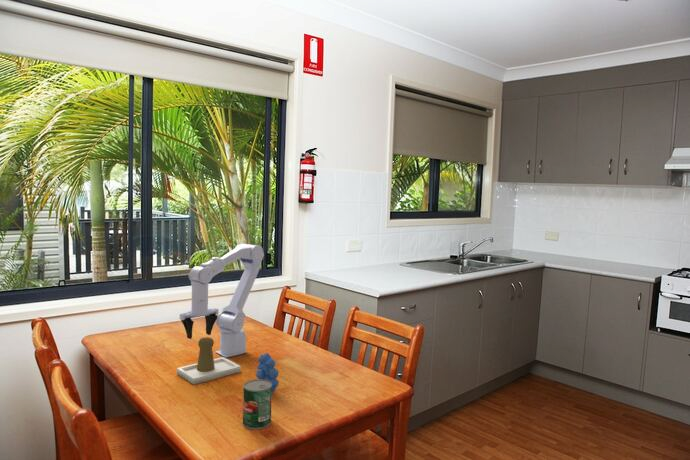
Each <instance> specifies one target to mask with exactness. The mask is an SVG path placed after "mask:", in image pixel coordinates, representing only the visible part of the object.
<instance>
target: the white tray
mask: <svg viewBox="0 0 690 460" xmlns="http://www.w3.org/2000/svg"><path fill="white" fill-rule="evenodd" d="M213 359H214V367H215V368H214V370H212V371H209V372H200V371H198V370H197V365H198V362H197V363H193V364H189V365H185V366H181V367H177V368H176V375H178V376H180V377H181V378H183V379H184V380H186V381H187V382H189V383H190V384H192V385H193V386H194V385H197V384H201V383H206V382H208V381H211V380H215V379H220V378H222V377H226V376H230V375H234V374H237V373H240V372H242V371H241V370H242V366H241V365H239V364H237V363H236V362H234V361H232V360H230V359H228V358H226V357H224V356H221V357H218V358H213Z"/></svg>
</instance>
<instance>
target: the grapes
mask: <svg viewBox="0 0 690 460" xmlns="http://www.w3.org/2000/svg"><path fill="white" fill-rule="evenodd" d="M258 362H259V363H258V365H257V371H256V373H255V376H256V377H257V379H262V380H267V381H270V382H271V383H272V394H274V392H275V391H276V389H277V388H278V386H279V383H280V382H279V380H278V379H277V378H278V376H279V370H278V369H276V368H275V367H276V361H275V360H274V359H273V358H272V356H271V354H269V353H268V352H265V353H264V354H261V355H260V356H259V358H258Z"/></svg>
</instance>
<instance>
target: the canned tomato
mask: <svg viewBox="0 0 690 460" xmlns="http://www.w3.org/2000/svg"><path fill="white" fill-rule="evenodd" d="M242 393H243V395H242V396H243V398H242V426H243V427H244V428H246V429H250V430H262V429H265V428H267V427H269V426H270V425H271V423H272V399H273V398H272V394H273V393H272V383H271V382H270V381H267V380H262V379H259V378H257V379H251V380H247V381H246V382H244V384H243V392H242Z"/></svg>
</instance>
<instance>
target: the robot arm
mask: <svg viewBox="0 0 690 460" xmlns="http://www.w3.org/2000/svg"><path fill="white" fill-rule="evenodd" d="M264 256H265V253H264V249H263V247H262V246H261V245H257V244H249V243H244V242H242V243H240V244H238V245H236V246H235V247H234V248H233V249H232V250H230V251H229V252H227V253H226V254H224V255H223V256H221V257H219V256H216V257H215V256H212V257H211V258H210V260H209V261H206V262H203V263H201V265H200V266H193V268H191V270H190V271H189V273H188V280H189V281H190V285H191V310H189V311H187V312H183V313H179V320H180V321H181V324H182V325H183V326H184V327H183V328H184V330H185V334H186V338H187V339H188V340H189V339H191V340H192V339H193V327H194V323H195V321H194V320H192V319H194V318H195V319H196V318H202V317H204V318H205V334H206V335H208V336H211V334H212V331H213V327H214V325H215V324H216V326H217V328H218V330H219V331H220V332H219V333H220V334H219V336H220V337H219V339H220V342H219V350H215V353H216V354H218V355H219V356H220V355H221V357H224V358H226V359H228V358H230V357H235V356H238V355H242V354H243V355H244V354H246V353H247V350H246V345H247V342H246V341H247V337H246V336H247V335H246V332H245V330H244V329H243V327H244V323H245V318H246V314H245V312H244V310H243V309H244V307H245V305H246V301H247V300H248V297H249V295H250V293H251V292H252V291H251V290H252V288H253V287H254V284H255V281H256V279H257V276H258V274H259V271H260V269H261V263H262V261H263V258H264ZM238 260H239V261H240V263H241V264H242V265H243V267H244V270H243V273H242V275H241V277H240V279H239V282H238V284H237V287H236V288H235V291H234V293H233V296H232V298H231V300H230V303H229V304H228V305H226V306H225V307H223V308H222V309H221V312H220V313H219V309H218V308H209V306H208V305H209V283H210V282H211V280H212V279H213V278H214V277H215V276H216V275H218V274H219V273H221V272H224V270H225V268H226V266H228V265H229V264H232V263H233V262H235V261H238Z"/></svg>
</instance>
